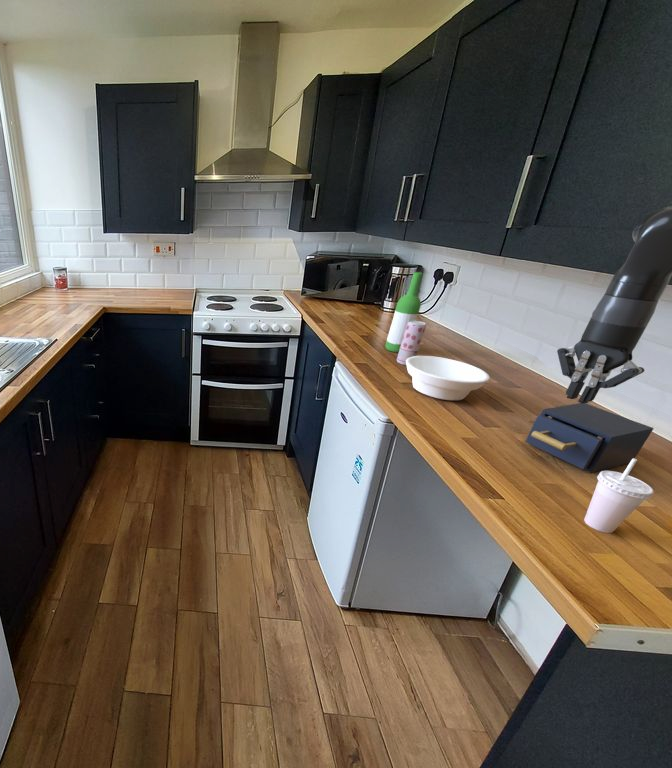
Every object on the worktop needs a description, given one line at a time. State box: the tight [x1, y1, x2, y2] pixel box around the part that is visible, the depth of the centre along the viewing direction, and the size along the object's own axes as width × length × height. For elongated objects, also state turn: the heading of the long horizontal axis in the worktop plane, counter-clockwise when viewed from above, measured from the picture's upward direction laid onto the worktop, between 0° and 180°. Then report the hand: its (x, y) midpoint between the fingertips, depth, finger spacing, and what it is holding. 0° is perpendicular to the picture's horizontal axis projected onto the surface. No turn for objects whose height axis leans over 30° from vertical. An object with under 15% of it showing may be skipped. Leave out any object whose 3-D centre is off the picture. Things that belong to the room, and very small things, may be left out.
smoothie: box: [583, 457, 654, 534], centre depth 69 cm, size 6×6×14 cm
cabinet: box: [540, 402, 654, 474], centre depth 92 cm, size 15×13×9 cm
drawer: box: [524, 413, 606, 470], centre depth 90 cm, size 18×11×7 cm, turn 108°
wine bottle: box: [384, 271, 423, 354], centre depth 152 cm, size 8×8×30 cm
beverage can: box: [396, 320, 427, 366], centre depth 142 cm, size 6×6×15 cm
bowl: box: [405, 355, 491, 401], centre depth 120 cm, size 21×21×8 cm
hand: (577, 400), depth 84 cm, fingers closed
